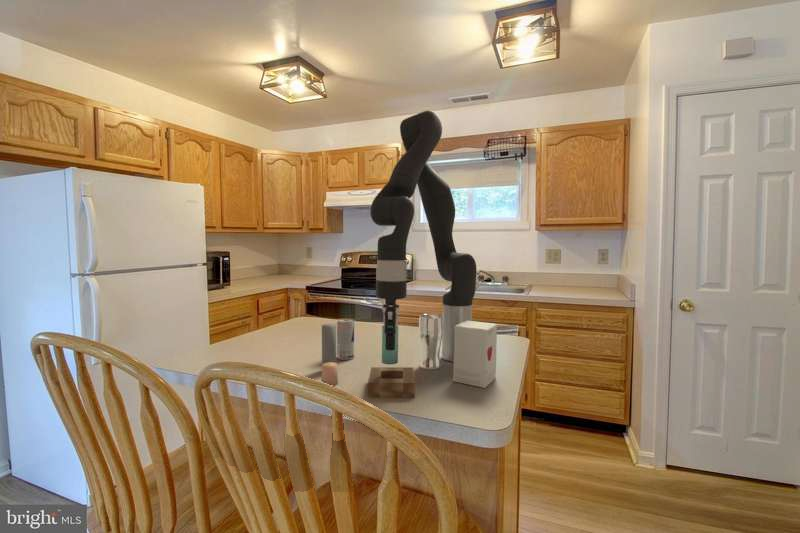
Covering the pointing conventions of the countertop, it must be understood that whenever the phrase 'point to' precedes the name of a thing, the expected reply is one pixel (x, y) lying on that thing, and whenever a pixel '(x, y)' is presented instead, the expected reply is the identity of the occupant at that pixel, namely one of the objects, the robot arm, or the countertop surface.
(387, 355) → the medium dowel
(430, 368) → the beer glass
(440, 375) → the countertop surface
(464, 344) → the supplement box
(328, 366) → the short dowel
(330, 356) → the long dowel
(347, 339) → the energy drink
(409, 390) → the brown wooden square frame
